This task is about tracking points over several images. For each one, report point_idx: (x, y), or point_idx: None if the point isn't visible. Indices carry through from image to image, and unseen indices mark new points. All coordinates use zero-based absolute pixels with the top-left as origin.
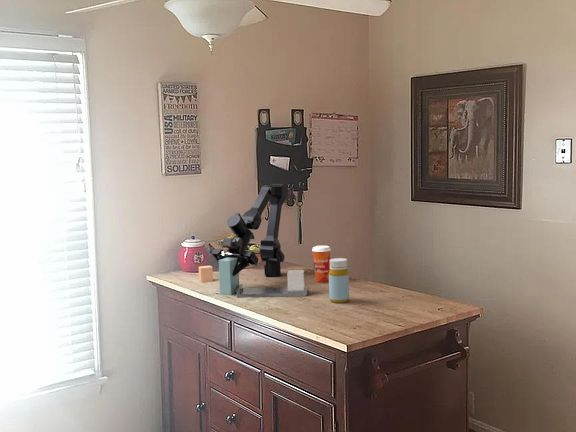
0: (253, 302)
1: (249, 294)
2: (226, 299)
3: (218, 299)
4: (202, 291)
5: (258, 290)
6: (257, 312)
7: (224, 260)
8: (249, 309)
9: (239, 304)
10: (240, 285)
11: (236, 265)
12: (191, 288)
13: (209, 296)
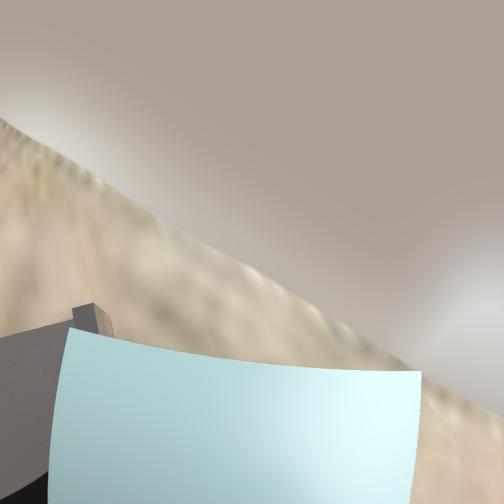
0: (8, 232)
1: (31, 330)
2: (157, 259)
3: (207, 249)
4: None
5: (11, 431)
6: (2, 123)
7: (245, 380)
8: (23, 139)
9: (62, 185)
10: None
11: None
12: (491, 432)
13: (305, 305)
